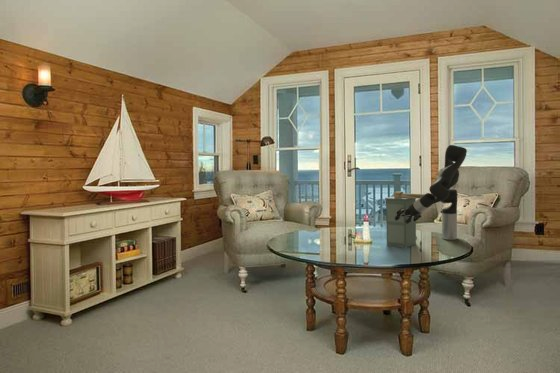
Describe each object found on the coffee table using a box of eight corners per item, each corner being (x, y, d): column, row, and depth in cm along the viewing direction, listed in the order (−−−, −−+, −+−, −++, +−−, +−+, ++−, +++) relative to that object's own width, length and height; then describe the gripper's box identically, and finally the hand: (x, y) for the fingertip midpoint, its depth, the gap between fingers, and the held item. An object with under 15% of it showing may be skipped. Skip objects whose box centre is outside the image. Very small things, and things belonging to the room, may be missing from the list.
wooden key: (397, 196, 264) (397, 191, 264) (428, 198, 250) (428, 192, 250) (393, 197, 260) (393, 192, 260) (424, 198, 247) (424, 193, 247)
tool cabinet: (396, 241, 272) (396, 196, 270) (417, 243, 262) (416, 196, 261) (385, 245, 261) (385, 198, 259) (406, 248, 251) (406, 198, 249)
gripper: (427, 204, 242) (408, 218, 254) (407, 198, 237) (390, 212, 249) (430, 215, 237) (411, 228, 249) (410, 209, 233) (392, 223, 244)
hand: (400, 220), depth 249 cm, fingers open, 7 cm apart
